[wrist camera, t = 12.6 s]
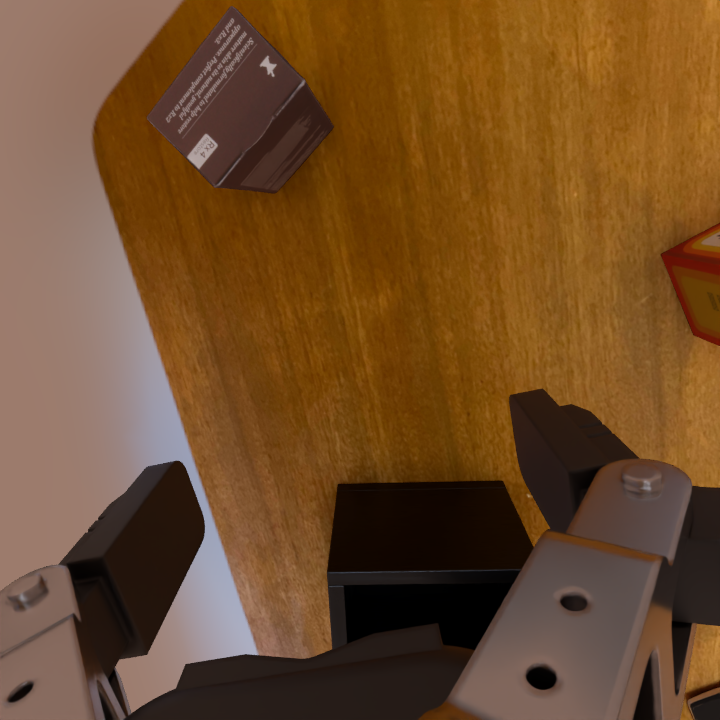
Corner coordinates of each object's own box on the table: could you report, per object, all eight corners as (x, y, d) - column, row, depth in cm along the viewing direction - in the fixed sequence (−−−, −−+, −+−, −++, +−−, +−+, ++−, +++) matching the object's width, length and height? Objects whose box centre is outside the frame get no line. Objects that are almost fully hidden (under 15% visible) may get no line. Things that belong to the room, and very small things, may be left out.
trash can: (344, 596, 43) (336, 708, 34) (337, 483, 40) (326, 572, 31) (496, 594, 43) (532, 707, 33) (502, 480, 40) (544, 569, 30)
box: (283, 71, 31) (231, -3, 20) (335, 127, 32) (314, 86, 21) (221, 146, 33) (139, 117, 21) (273, 197, 34) (221, 196, 22)
